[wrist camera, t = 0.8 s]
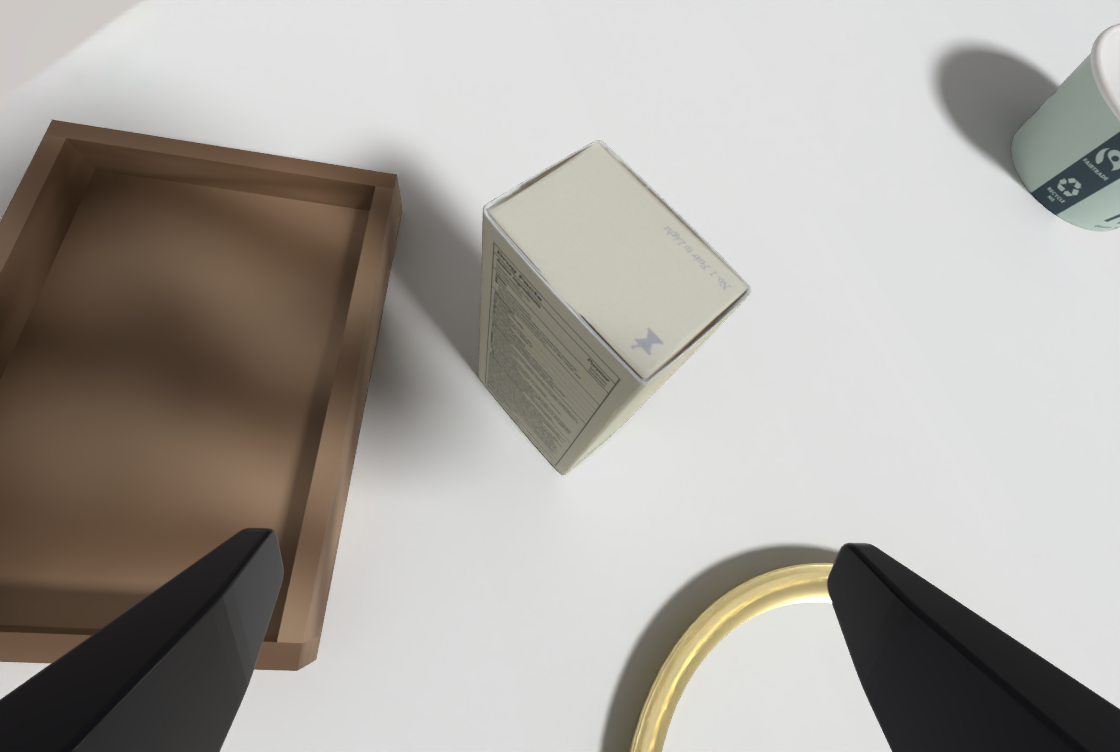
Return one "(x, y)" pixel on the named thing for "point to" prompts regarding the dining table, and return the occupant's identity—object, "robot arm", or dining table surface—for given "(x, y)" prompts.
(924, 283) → the dining table surface
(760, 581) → the gold hoop ring
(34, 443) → the walnut tray
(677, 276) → the skincare box
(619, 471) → the dining table surface
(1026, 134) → the food container
